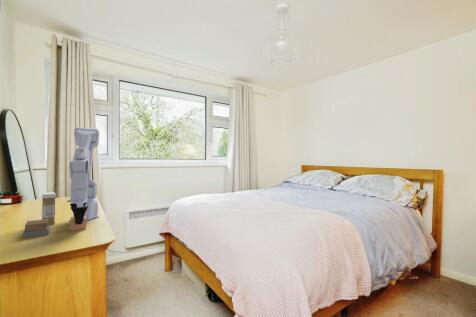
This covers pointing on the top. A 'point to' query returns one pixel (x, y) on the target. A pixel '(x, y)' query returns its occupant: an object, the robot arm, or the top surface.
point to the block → (78, 226)
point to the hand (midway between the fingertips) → (78, 221)
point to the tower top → (36, 225)
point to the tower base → (36, 233)
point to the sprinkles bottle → (48, 207)
